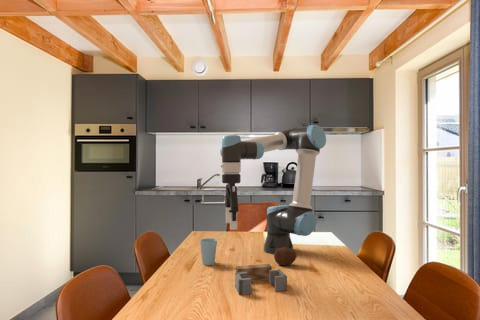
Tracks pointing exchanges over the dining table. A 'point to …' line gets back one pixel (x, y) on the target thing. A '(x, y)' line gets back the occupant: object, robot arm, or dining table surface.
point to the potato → (284, 256)
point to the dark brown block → (255, 271)
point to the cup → (208, 250)
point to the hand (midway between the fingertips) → (231, 226)
